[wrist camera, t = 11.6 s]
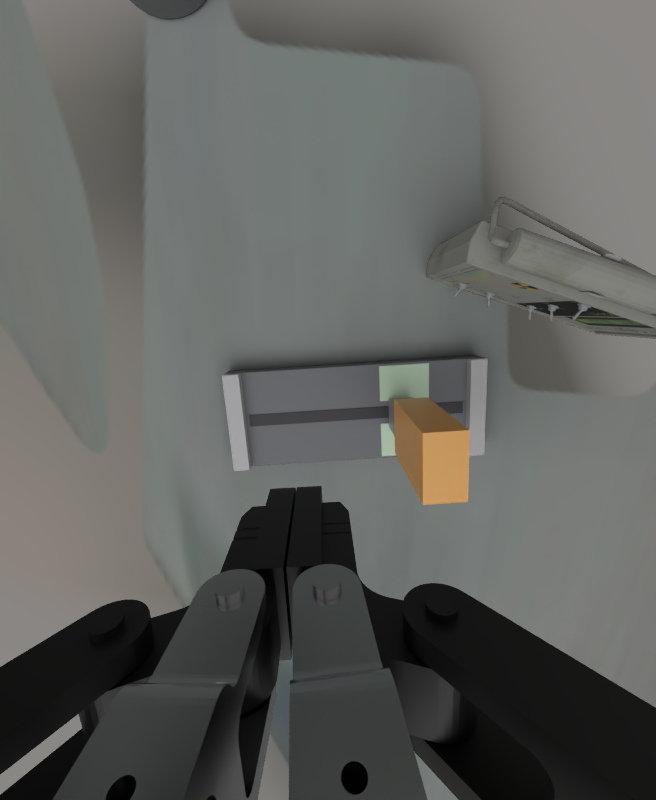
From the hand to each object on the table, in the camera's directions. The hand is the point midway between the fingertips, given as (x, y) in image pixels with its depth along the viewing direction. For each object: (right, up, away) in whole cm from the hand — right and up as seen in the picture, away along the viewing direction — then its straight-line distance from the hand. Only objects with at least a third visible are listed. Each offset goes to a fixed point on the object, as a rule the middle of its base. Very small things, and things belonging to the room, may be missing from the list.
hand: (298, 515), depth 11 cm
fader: (+8, +2, +27) cm, 28 cm away
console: (+4, +2, +29) cm, 29 cm away
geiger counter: (+23, +14, +27) cm, 38 cm away
